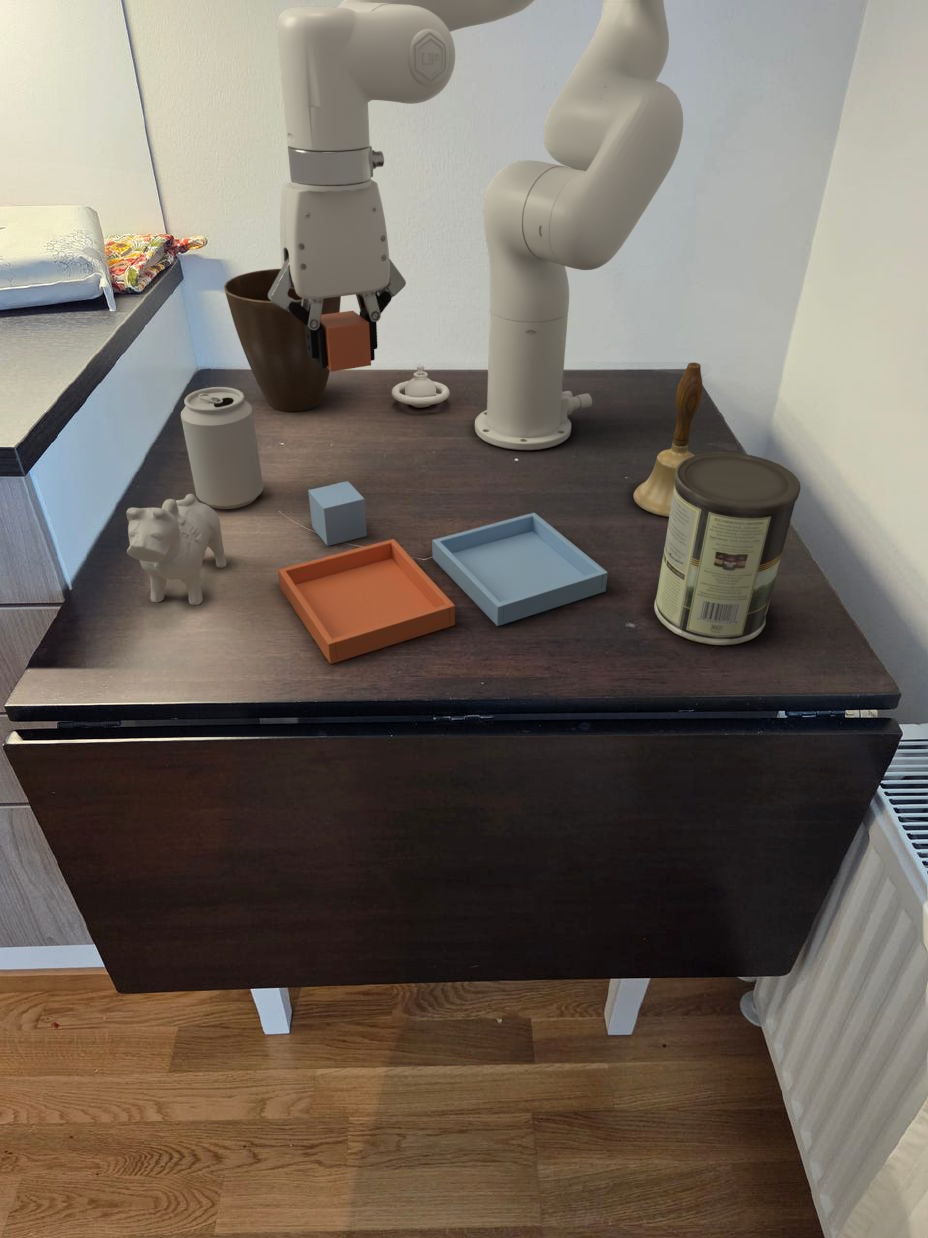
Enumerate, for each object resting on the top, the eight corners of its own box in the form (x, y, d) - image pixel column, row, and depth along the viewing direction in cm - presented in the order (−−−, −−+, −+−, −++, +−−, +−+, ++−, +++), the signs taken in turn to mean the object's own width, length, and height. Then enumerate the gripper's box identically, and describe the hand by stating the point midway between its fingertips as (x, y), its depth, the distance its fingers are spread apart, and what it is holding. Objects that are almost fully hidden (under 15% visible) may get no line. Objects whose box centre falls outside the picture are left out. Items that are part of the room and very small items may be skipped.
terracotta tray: (394, 557, 89) (393, 538, 88) (455, 625, 80) (455, 605, 79) (280, 588, 85) (277, 569, 83) (330, 664, 75) (328, 644, 74)
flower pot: (364, 387, 126) (357, 272, 117) (328, 428, 115) (317, 304, 105) (267, 377, 129) (253, 264, 120) (223, 417, 117) (203, 295, 108)
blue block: (350, 517, 96) (347, 480, 93) (367, 536, 93) (364, 498, 90) (312, 527, 94) (308, 489, 91) (327, 546, 91) (323, 508, 88)
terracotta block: (355, 352, 95) (353, 310, 92) (371, 365, 91) (369, 322, 89) (316, 358, 93) (312, 315, 90) (330, 372, 90) (327, 328, 87)
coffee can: (728, 575, 87) (757, 444, 79) (787, 635, 79) (826, 497, 71) (634, 591, 85) (654, 458, 76) (685, 655, 77) (713, 514, 68)
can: (248, 516, 96) (232, 412, 89) (185, 508, 97) (164, 406, 90) (274, 484, 102) (260, 385, 95) (214, 478, 103) (196, 380, 96)
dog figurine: (130, 626, 80) (102, 524, 73) (183, 551, 90) (162, 457, 83) (186, 630, 79) (163, 528, 73) (233, 555, 89) (215, 460, 83)
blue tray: (533, 530, 94) (534, 512, 93) (605, 591, 85) (608, 572, 83) (432, 558, 89) (431, 539, 88) (497, 626, 80) (498, 607, 78)
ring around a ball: (382, 410, 119) (437, 418, 117) (381, 369, 116) (437, 377, 114) (404, 391, 125) (457, 399, 123) (404, 352, 122) (457, 359, 120)
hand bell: (720, 499, 100) (748, 362, 90) (682, 526, 95) (708, 384, 85) (658, 476, 104) (678, 344, 95) (619, 501, 99) (636, 363, 90)
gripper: (397, 156, 87) (402, 338, 98) (230, 167, 81) (255, 360, 92) (429, 168, 82) (430, 359, 93) (253, 180, 75) (276, 384, 86)
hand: (343, 358), depth 92 cm, fingers closed on terracotta block, 4 cm apart
